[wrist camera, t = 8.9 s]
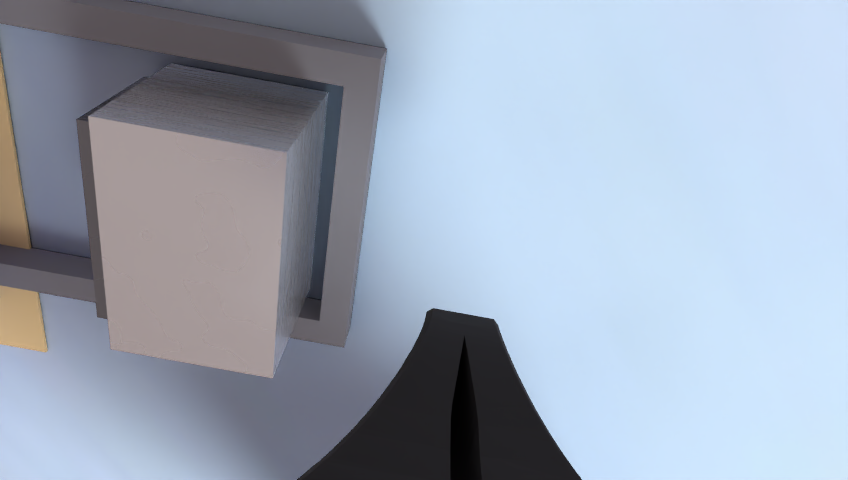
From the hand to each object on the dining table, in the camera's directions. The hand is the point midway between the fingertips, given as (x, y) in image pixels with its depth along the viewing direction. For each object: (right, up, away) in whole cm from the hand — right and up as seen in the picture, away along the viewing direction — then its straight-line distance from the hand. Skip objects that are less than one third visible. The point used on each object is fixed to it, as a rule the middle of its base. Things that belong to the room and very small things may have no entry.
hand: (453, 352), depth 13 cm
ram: (-5, +4, +5) cm, 8 cm away
